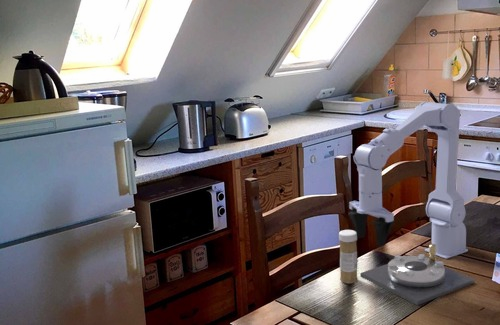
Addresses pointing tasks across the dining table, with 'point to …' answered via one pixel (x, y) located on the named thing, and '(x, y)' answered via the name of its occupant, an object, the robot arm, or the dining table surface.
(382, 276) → the base plate
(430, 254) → the tabbed hub disc
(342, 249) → the sprinkles bottle
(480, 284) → the dining table surface
